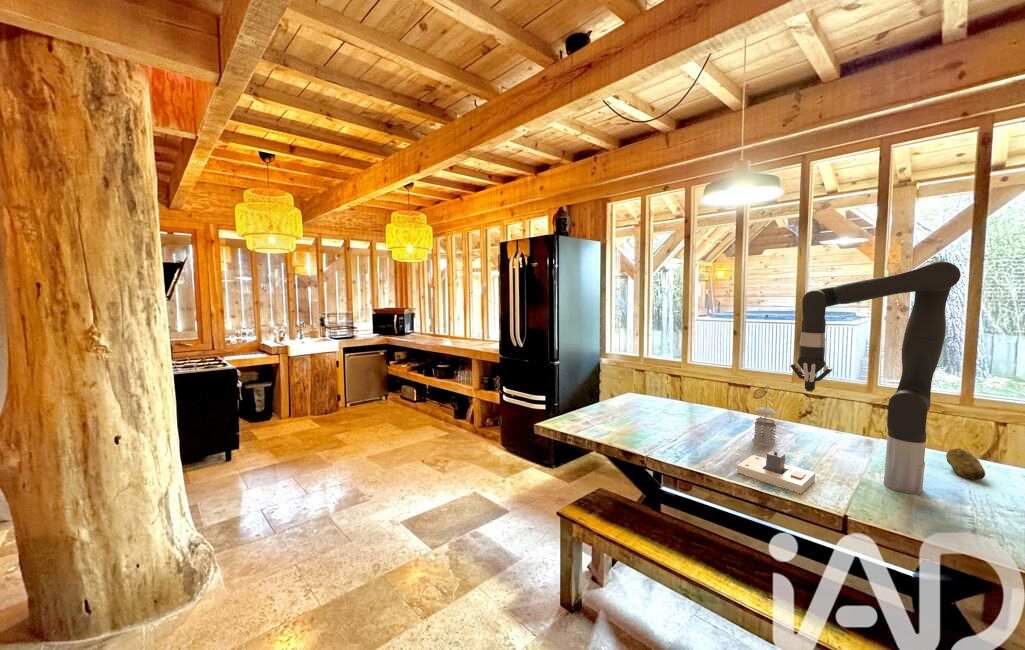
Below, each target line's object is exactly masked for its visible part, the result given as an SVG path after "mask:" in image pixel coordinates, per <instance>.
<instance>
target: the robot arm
mask: <svg viewBox="0 0 1025 650" xmlns="http://www.w3.org/2000/svg"><path fill="white" fill-rule="evenodd" d="M961 275H962V273H961V270H960V268H959V267H958V266H956V265H955V263H954V264H953V263H951V262H948V261H944V260H943V261H942V260H939V261H931V262H928V263H925V264H923V265H922V266H921V267H917V268H915V269H912V270H909V271H906V272H905V271H904V272H902V273H898V274H897V273H896V274H894V275H893V274H892V275H888V276H881V277H874V278H867V279H861V280H856V281H852V282H847V283H843V284H839V285H836V286H830V287H826V288H818V289H813V290H809V291H807V292H806V293H805V294H804V295H803V296H802V307H801V308H802V320H801V330H800V331H801V332H800V337H799V353H798V355H799V356H798V359H797V361H796V362H795V363H792V364H790V368H791V370H793V372H794V373H795V374H796V375H797V377H798V378H799V379H801V380H803V381H804V390H806V392H810V393H811V392H813V391H815V388H816V383H817V382H820V381H822V380H823V379H824V378H826V376H828V375H829V374H830V373H832V371H833V368H832V367H829V366H828V365H827V363H826V361H825V355H826V354H825V353H826V341H827V340H826V326H827V325H826V323H827V321H826V310H827V309H826V308H829V307H834V306H837V305H848V304H855V303H859V302H863V301H865V302H866V301H869V300H874V299H878V298H883V297H884V298H885V297H887V296H893V295H899V294H904V293H905V294H906V293H914V300H913V306H912V309H911V311H910V315H909V318H908V321H907V324H906V327H905V331H904V335H903V340H902V345H901V365H902V366H901V370H902V371H901V376H900V380H899V384H898V385H897V386H898V387H897V389H896V391H895V393H894V394H892V396H891V397H890V398H889V400H888V404H887V416H886V417H887V420H886V427H887V437H886V448H885V462H884V463H885V464H884V474H883V484H884V485H885V487H888V488H889V489H891V490H894V491H897V492H900V493H906V494H912V495H918V496H921V494H922V492H923V489H924V477H925V467H926V462H925V455H926V454H925V453H926V444H927V419H928V418H927V417H928V412H929V411H930V408H931V397H932V396H931V393H932V382H933V377H934V374H935V372H936V369H937V366H938V364H939V361H940V357H941V355H942V351H943V347H944V343H945V339H946V328H947V327H946V325H947V324H946V322H947V321H946V320H947V319H946V305H947V301H948V299H949V295H950V292H951V289H952V288H953V287H954V286H955V285H957V283H958V282H959V281H960V279H961ZM800 368H801V369H800ZM821 370H822V373H821V374H819V375H818V373H820V371H821ZM802 371H803V372H802ZM817 375H818V376H817Z"/></svg>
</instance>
